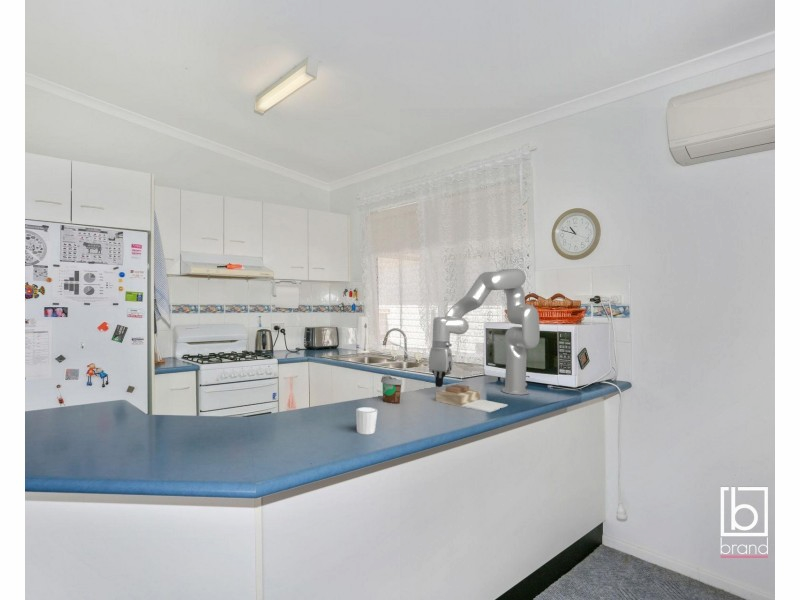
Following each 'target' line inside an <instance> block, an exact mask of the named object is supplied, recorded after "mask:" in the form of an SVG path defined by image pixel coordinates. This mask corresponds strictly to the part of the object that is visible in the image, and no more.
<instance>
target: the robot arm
mask: <svg viewBox="0 0 800 600" xmlns="http://www.w3.org/2000/svg"><path fill="white" fill-rule="evenodd" d="M525 283H526V274H525V272H524V270H522V269H521V268H506V269H505V268H504V269H500V270H497V271H486V272H485V271H484V272H482V273H481V274H479V275H478V277H477V278H476V280H475V281H474V283H473V284H472V285H471V287H470V288H469V290H468V291H467V293H466V294H465V295H464V296H463V297H462V298H460V299H459V300H458V301H457V302H456V303H454V304H453V305H452V306H451V308H450V309H449V310H448V311H447V312H446V314H445V315H444V316H443V317H442V316H437V317H434V318H433V321H432V322H433V323H432V327H433V328H432V344H431V345H432V346H431V347H430V351H429V355H428V371H429V372H430V373H432V374H433V376H434V378H435V383H434V384H435V387H436V388H437V387H438V388H441V387H443V386H444V385H443V384H444V378H445V376H447V375H448V376H449V375H451V371H452V370H453V354H452V349H451V347H452V346H453V345H452V343H450V338H451V334H456V335H463V334H465V333H466V332H468V330H469V327H470V326H469V325H470V324H469V322H468V321H467V320H466V318H463V317H464V316H465V315H467V314H468V313H470V312H472V311H474V310H477V309H478V308H480V307H481V306H482V305H483V304H484V302H485V301H486V299H487V298H488V296H489V294H490V293H491V292H492V291H501V290H503V291H504V293H505V297H506V309H507V310H506V311H507V312H506V314H507V320H508V322H510V323H511V324H515V325H521V326H511V327H509V328H508V329H507V330H506V332H505V334H504V335H505V336H504V340H505V349H506V353H505V354H506V359H505V381H504V387H502V388H501V392H502V393H505V394H510V395H516V396H517V395H520V396H521V395H522V396H523V395H528V394H529V390H527V389H526V387H527V386H528V383H527V381H526V379H527V376H526V375H527V359H528V356H527V351H526V349H535V348H537V346H538V344H539V342H540V334H541V333H540V332H541V331H540V316H539V315H540V314H539V311H538V309H537V308H536V306H534V305H531V304H526V297H525V291H524V289H523V287H522V286H523V285H524V284H525Z"/></svg>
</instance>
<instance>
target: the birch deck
mask: <svg viewBox="0 0 800 600" xmlns="http://www.w3.org/2000/svg"><path fill="white" fill-rule="evenodd" d="M435 393H436V395H435V401H436V402H438V401H439V402H438V403H442V402H443V403H444V404H447V405H453V406H458V407H462V405H464V404H467V403H470V402H473V401H477V400H480V399H481V391H479V390H475V389H470V388H469V391H467V392H463V393H459V394H456V393H451V392H446V388H445V389H443V390H438V391H436V392H435Z"/></svg>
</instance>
